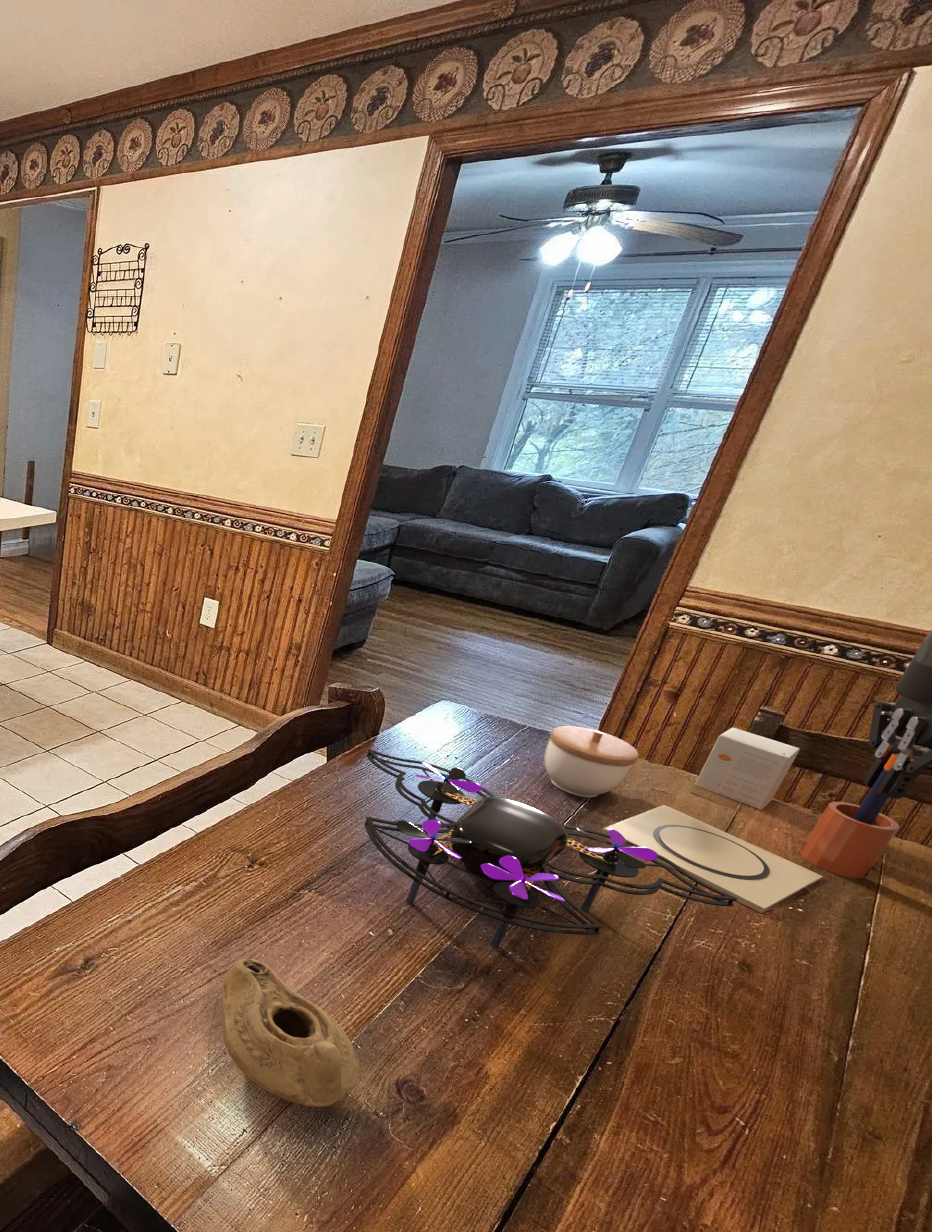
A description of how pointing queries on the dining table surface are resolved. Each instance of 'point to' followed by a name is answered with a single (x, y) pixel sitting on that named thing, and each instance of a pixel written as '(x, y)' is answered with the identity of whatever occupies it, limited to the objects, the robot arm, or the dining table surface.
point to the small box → (746, 767)
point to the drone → (514, 852)
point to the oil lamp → (285, 1038)
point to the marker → (875, 797)
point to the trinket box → (587, 760)
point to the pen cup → (847, 841)
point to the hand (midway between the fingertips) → (881, 791)
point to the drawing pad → (716, 857)
